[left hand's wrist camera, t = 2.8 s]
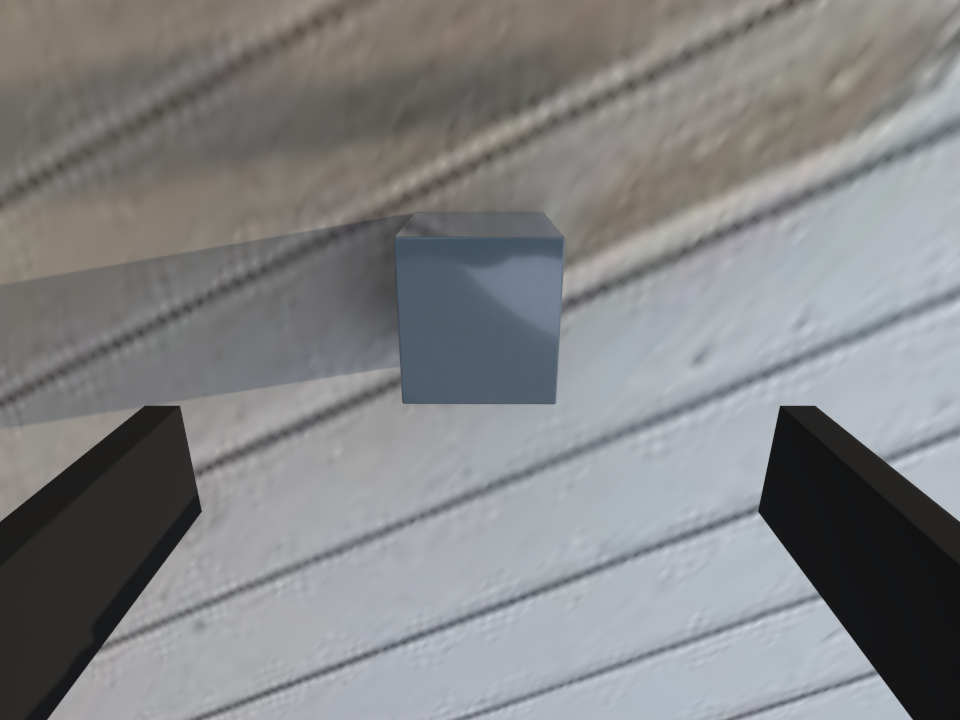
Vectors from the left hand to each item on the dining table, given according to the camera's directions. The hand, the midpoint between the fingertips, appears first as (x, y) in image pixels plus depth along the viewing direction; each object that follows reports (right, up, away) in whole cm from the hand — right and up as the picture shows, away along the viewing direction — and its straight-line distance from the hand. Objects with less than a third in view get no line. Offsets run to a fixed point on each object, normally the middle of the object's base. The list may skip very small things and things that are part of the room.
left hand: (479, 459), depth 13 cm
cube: (0, +6, +15) cm, 17 cm away
